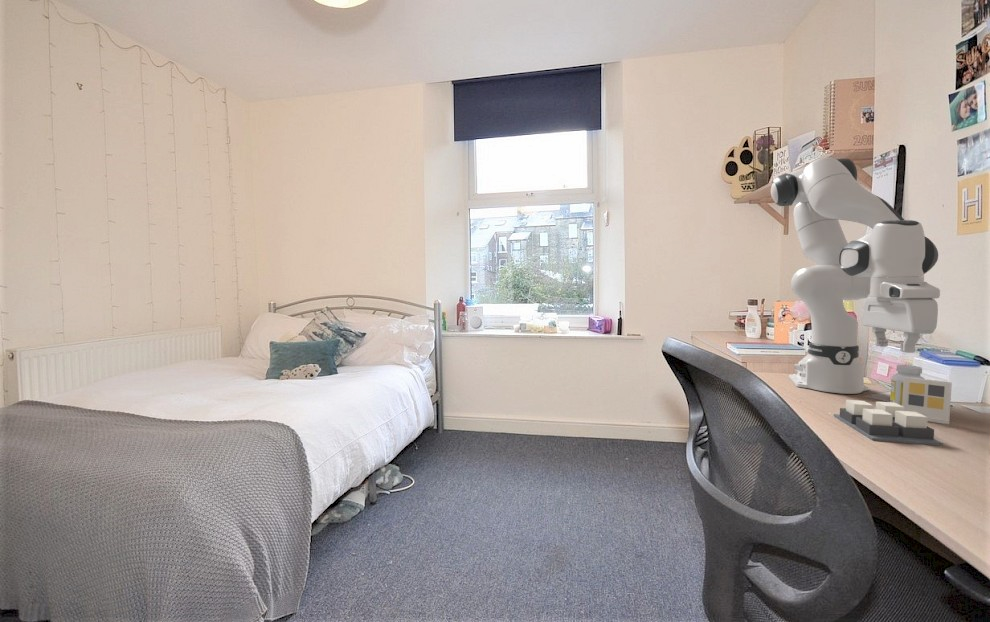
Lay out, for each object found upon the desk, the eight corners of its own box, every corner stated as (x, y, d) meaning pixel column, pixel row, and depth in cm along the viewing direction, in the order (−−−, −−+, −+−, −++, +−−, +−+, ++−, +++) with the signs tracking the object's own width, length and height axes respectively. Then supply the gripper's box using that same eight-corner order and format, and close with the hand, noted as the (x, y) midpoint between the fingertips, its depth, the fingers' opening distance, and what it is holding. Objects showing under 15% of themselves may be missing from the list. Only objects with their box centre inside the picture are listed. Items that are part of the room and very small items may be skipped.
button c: (845, 411, 99) (846, 399, 99) (863, 412, 98) (863, 400, 98) (853, 416, 96) (854, 404, 95) (872, 417, 95) (873, 405, 94)
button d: (862, 421, 92) (862, 408, 92) (881, 422, 91) (882, 409, 91) (871, 426, 89) (872, 413, 89) (891, 428, 88) (892, 414, 88)
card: (901, 415, 102) (903, 376, 101) (948, 422, 96) (951, 381, 95) (901, 416, 101) (903, 377, 100) (949, 424, 95) (951, 383, 94)
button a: (875, 413, 97) (876, 401, 97) (893, 414, 96) (894, 402, 96) (884, 418, 94) (885, 405, 94) (904, 419, 93) (904, 407, 93)
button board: (833, 416, 102) (834, 405, 102) (891, 419, 99) (892, 409, 99) (872, 440, 87) (872, 427, 87) (942, 445, 84) (943, 433, 83)
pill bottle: (932, 414, 102) (935, 369, 101) (902, 413, 103) (904, 368, 103) (911, 406, 108) (913, 364, 108) (883, 405, 110) (885, 363, 109)
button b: (894, 423, 91) (895, 410, 91) (914, 424, 90) (915, 411, 90) (905, 429, 87) (906, 415, 87) (926, 430, 86) (927, 417, 86)
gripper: (854, 289, 104) (853, 342, 105) (908, 290, 84) (905, 355, 85) (885, 289, 102) (883, 343, 103) (946, 290, 83) (943, 356, 83)
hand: (893, 349), depth 94 cm, fingers open, 8 cm apart
